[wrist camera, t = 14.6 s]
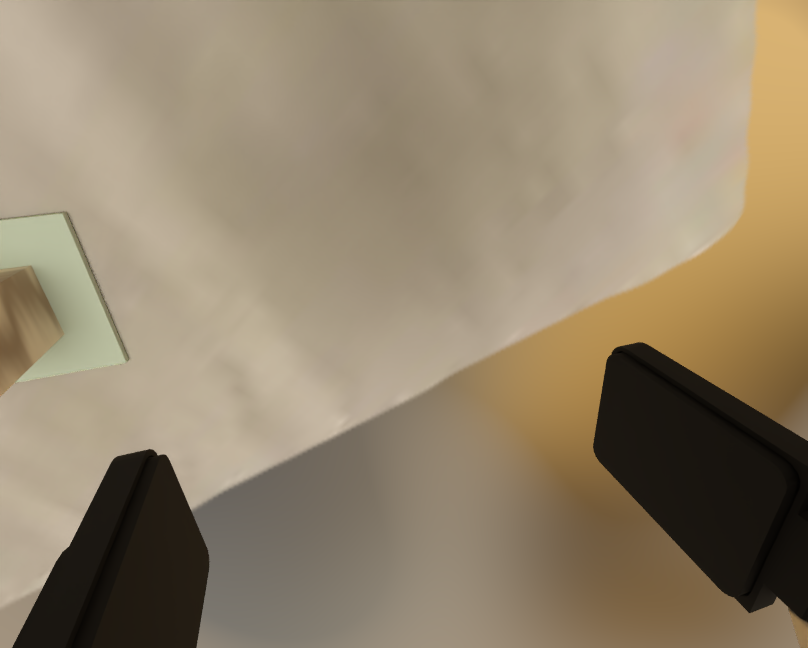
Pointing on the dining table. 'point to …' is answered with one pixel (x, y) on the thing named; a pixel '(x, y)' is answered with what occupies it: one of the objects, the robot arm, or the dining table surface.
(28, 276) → the beech block
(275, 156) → the dining table surface
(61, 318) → the pad
